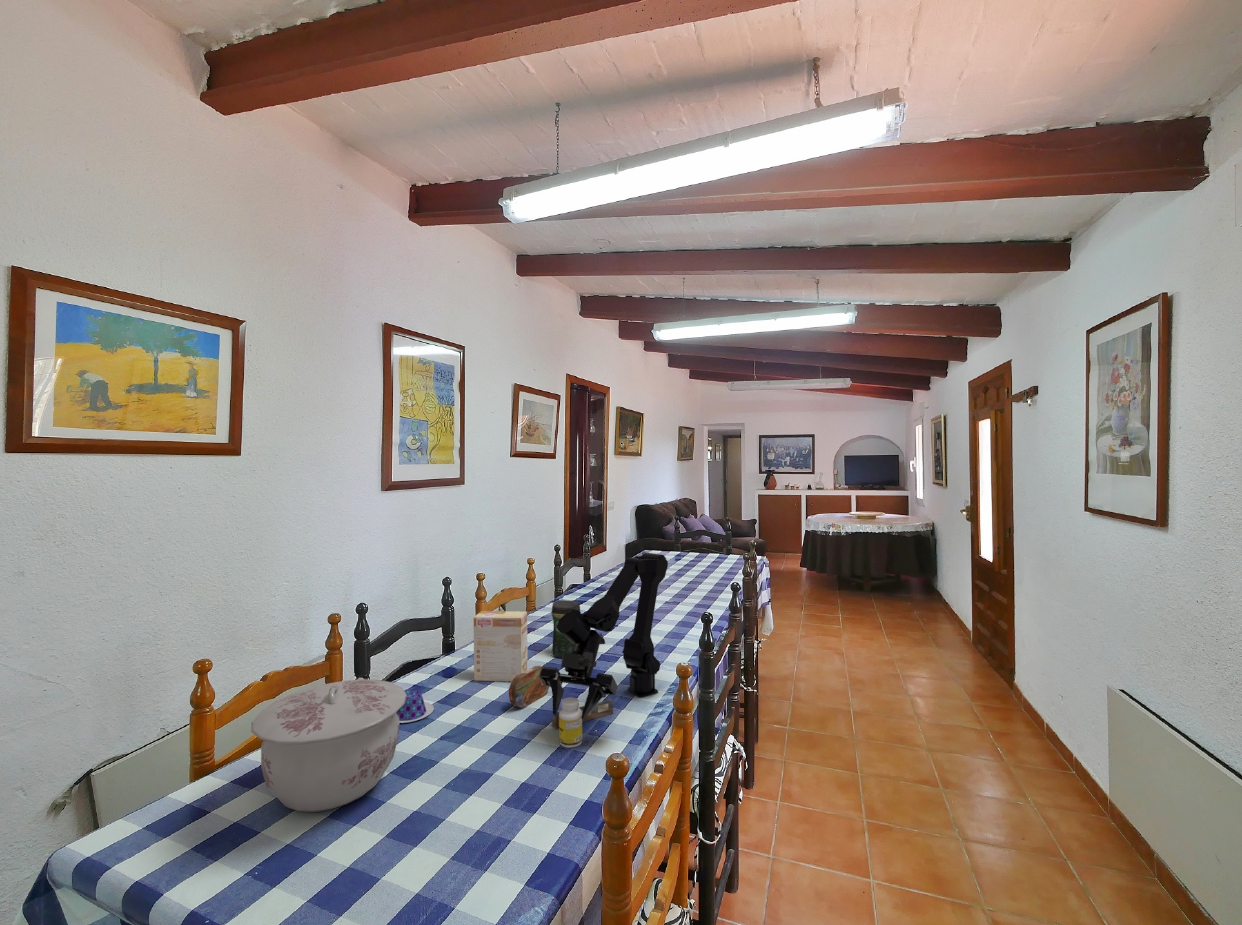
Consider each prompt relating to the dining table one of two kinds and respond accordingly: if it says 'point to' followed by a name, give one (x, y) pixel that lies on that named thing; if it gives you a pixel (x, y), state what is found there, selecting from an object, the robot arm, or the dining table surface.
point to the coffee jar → (559, 640)
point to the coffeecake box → (500, 645)
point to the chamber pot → (329, 742)
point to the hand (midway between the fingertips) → (568, 716)
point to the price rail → (591, 712)
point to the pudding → (414, 707)
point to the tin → (527, 688)
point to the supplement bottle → (570, 723)
